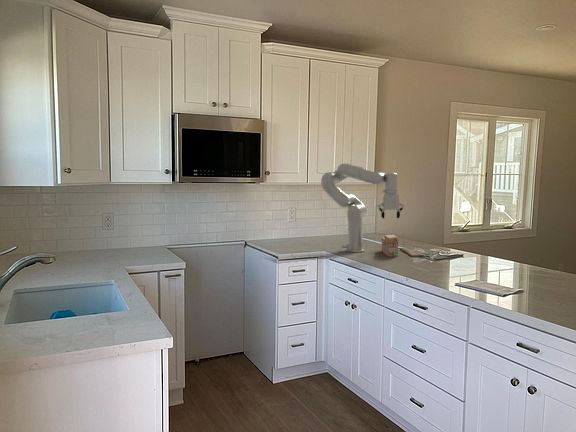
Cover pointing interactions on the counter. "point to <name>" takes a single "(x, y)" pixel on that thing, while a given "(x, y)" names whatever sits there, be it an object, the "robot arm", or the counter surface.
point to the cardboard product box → (390, 245)
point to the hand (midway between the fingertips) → (390, 218)
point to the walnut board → (412, 252)
